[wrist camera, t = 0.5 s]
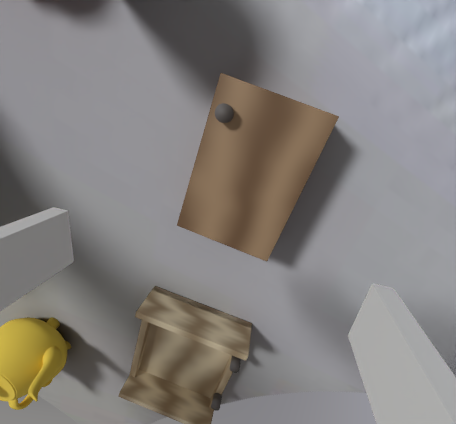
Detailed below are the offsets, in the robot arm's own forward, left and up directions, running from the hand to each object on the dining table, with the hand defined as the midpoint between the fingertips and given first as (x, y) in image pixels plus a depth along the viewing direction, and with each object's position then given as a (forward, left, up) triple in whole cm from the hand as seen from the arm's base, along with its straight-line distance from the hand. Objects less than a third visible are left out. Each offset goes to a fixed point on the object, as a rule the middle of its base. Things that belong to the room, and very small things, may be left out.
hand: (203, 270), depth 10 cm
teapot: (-26, -43, -20) cm, 54 cm away
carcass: (0, -31, -20) cm, 37 cm away
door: (0, +1, -20) cm, 20 cm away
